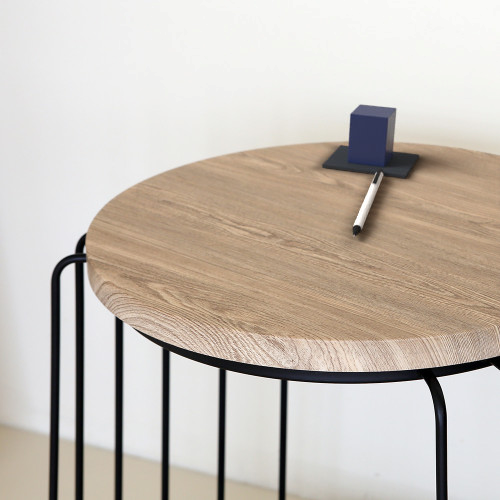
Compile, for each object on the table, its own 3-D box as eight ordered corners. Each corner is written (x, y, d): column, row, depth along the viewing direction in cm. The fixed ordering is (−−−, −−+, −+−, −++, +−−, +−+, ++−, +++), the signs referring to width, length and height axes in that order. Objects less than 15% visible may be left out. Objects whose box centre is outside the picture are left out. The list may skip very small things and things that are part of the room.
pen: (384, 174, 92) (385, 165, 92) (358, 240, 76) (359, 230, 75) (377, 173, 93) (377, 164, 92) (349, 239, 76) (349, 229, 76)
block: (392, 155, 98) (396, 107, 95) (384, 167, 94) (388, 117, 91) (356, 151, 99) (359, 104, 96) (347, 162, 95) (350, 113, 93)
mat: (419, 157, 98) (419, 154, 98) (405, 178, 92) (405, 175, 91) (340, 148, 102) (340, 144, 101) (322, 167, 95) (322, 164, 95)
